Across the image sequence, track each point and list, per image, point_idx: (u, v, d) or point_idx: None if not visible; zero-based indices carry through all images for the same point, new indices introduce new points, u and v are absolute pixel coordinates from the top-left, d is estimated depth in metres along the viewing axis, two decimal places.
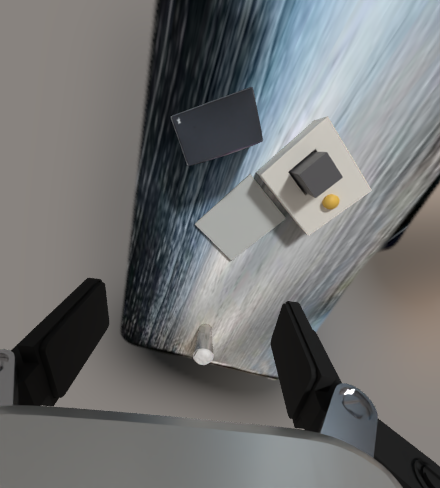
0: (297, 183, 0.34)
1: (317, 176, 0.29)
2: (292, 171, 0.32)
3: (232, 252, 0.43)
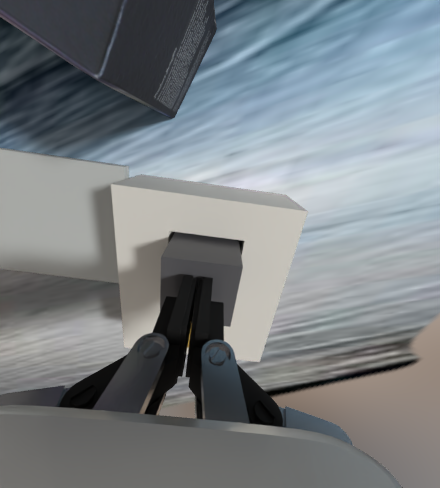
0: None
1: None
2: (178, 232, 0.14)
3: None
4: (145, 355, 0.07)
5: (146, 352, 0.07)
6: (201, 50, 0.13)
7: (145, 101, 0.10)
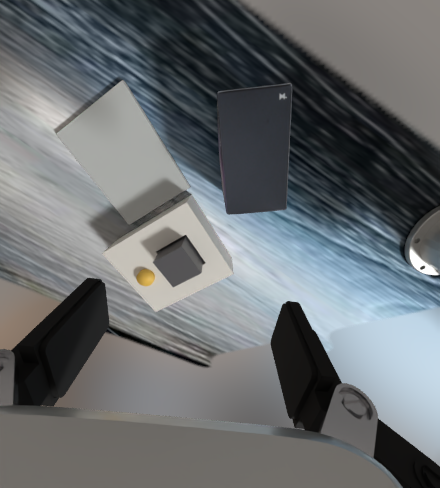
0: None
1: (177, 264, 0.26)
2: None
3: (71, 138, 0.26)
4: None
5: None
6: None
7: None
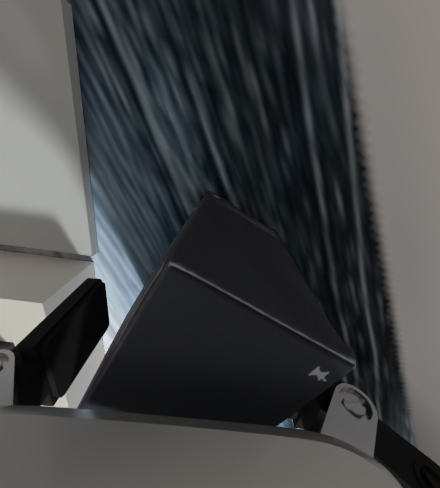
0: None
1: None
2: None
3: None
4: None
5: None
6: None
7: None
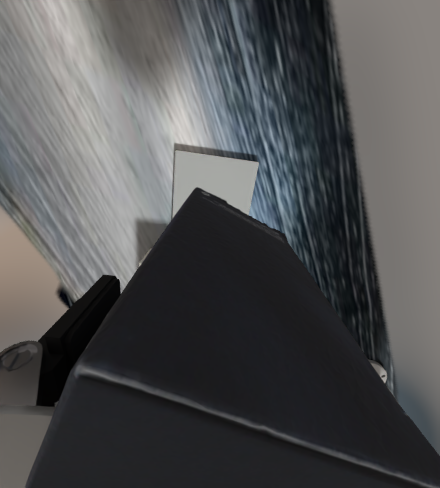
0: None
1: None
2: None
3: (185, 162, 0.27)
4: (13, 369, 0.06)
5: (12, 366, 0.06)
6: None
7: None
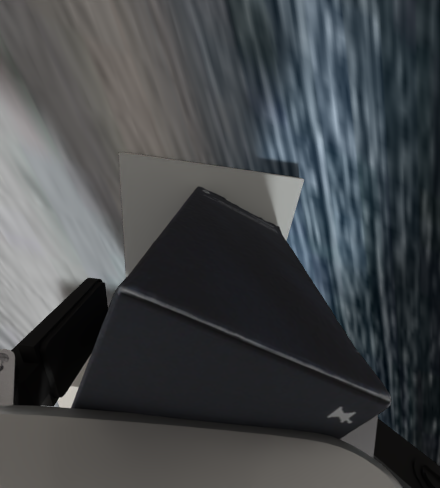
0: None
1: None
2: None
3: (142, 180, 0.13)
4: None
5: None
6: None
7: None
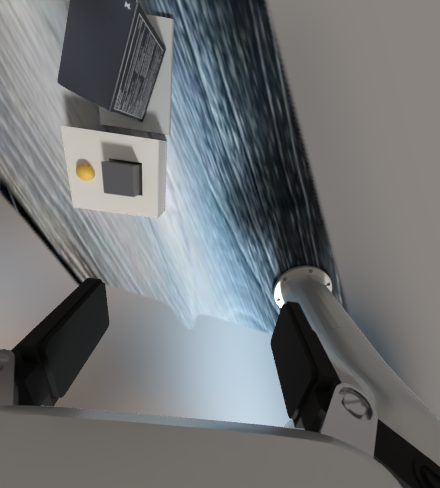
0: (129, 161, 0.34)
1: (119, 177, 0.30)
2: (141, 165, 0.33)
3: None
4: None
5: None
6: None
7: None
